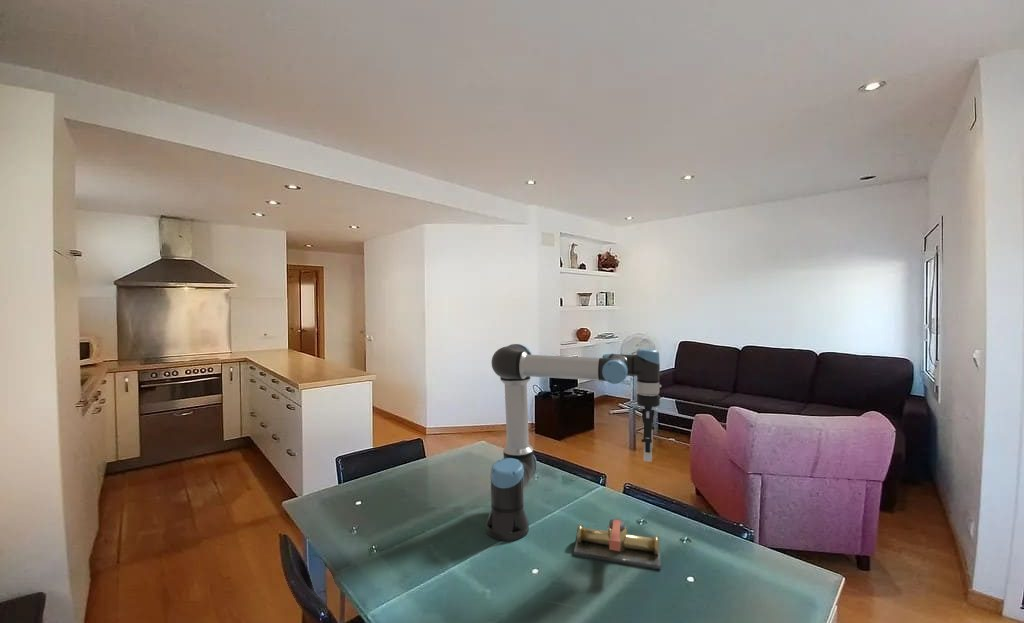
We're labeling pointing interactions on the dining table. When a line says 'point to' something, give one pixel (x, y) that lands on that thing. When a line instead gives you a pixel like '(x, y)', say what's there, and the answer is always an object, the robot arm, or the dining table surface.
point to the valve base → (618, 555)
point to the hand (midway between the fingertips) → (648, 454)
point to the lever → (615, 533)
